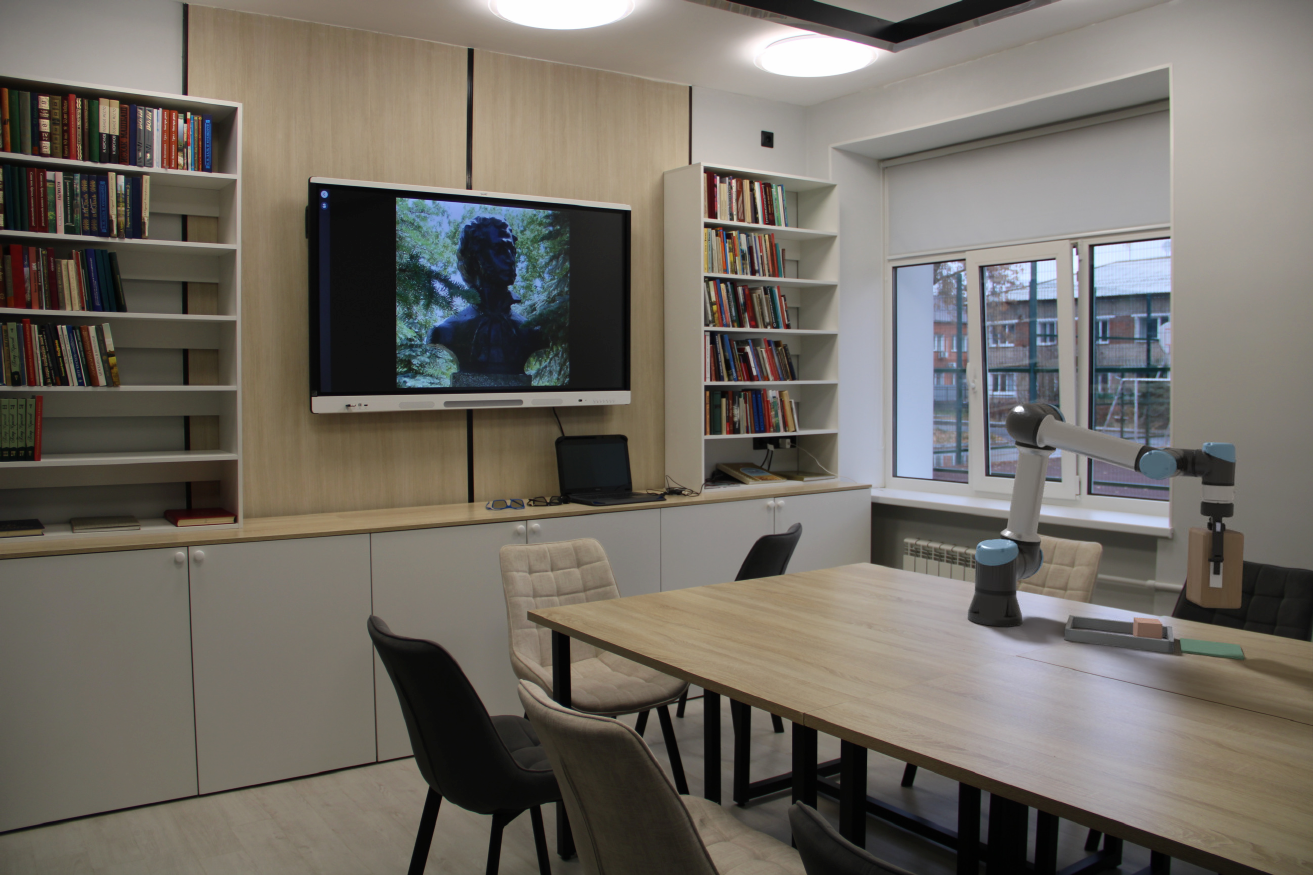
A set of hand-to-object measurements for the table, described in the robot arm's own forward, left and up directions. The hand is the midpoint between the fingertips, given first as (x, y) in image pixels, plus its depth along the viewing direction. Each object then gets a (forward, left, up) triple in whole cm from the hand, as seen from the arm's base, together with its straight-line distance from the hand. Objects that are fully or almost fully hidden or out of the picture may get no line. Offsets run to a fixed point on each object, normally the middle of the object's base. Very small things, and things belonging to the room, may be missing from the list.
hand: (1213, 582), depth 248 cm
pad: (0, 0, -18) cm, 18 cm away
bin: (-22, 0, -18) cm, 28 cm away
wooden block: (0, 0, -6) cm, 6 cm away
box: (-15, 0, -18) cm, 24 cm away
